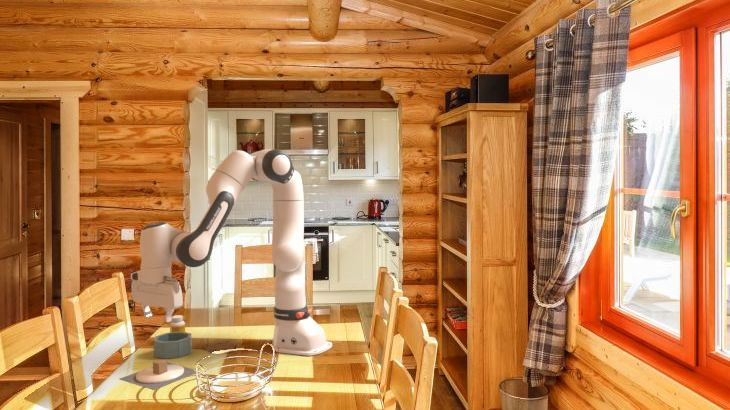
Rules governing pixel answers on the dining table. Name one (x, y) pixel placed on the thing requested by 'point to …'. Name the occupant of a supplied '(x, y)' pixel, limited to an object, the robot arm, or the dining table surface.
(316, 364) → the dining table surface
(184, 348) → the grey octagonal ring
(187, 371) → the mat
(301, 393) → the dining table surface
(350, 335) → the dining table surface
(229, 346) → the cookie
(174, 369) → the lid
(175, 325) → the supplement bottle
